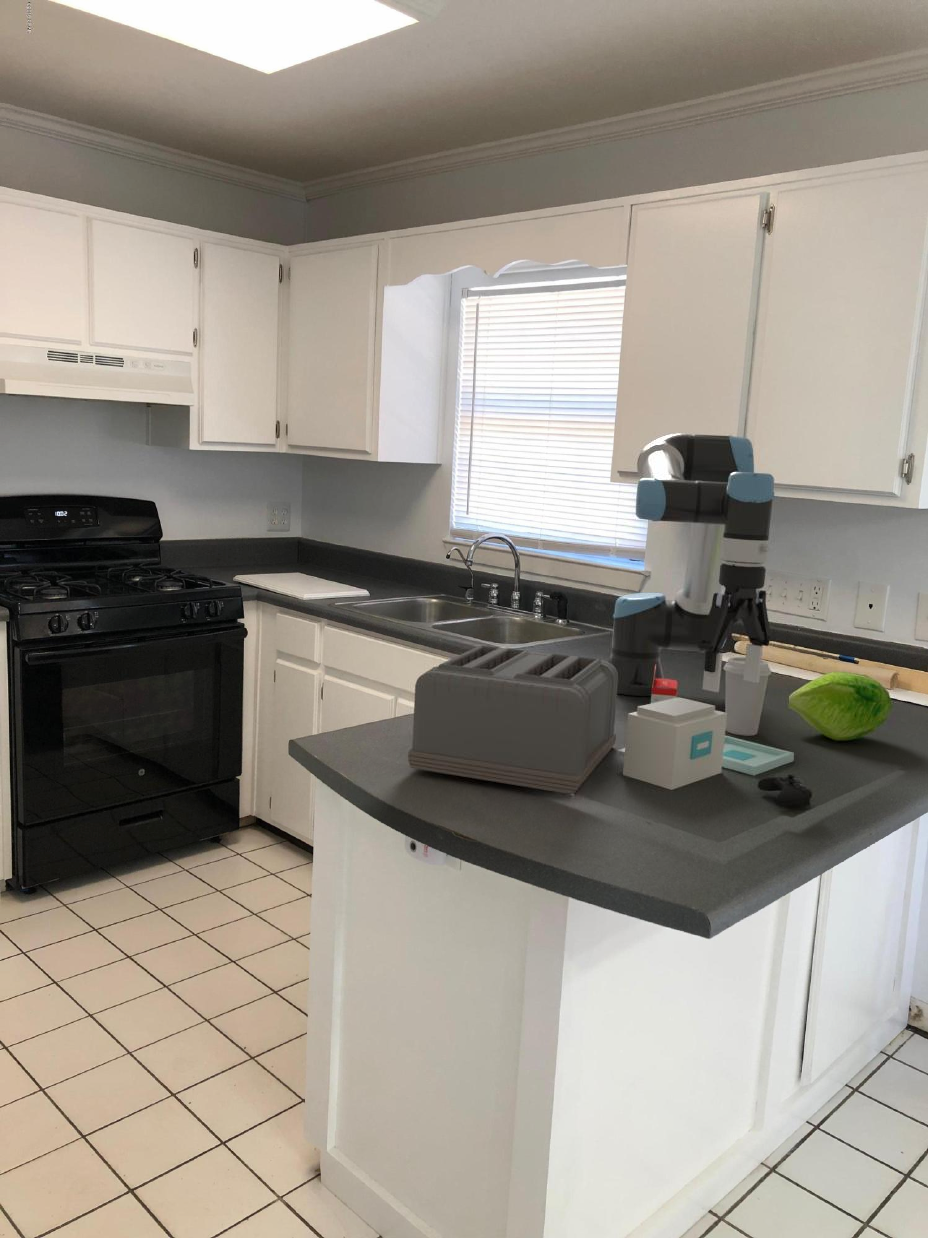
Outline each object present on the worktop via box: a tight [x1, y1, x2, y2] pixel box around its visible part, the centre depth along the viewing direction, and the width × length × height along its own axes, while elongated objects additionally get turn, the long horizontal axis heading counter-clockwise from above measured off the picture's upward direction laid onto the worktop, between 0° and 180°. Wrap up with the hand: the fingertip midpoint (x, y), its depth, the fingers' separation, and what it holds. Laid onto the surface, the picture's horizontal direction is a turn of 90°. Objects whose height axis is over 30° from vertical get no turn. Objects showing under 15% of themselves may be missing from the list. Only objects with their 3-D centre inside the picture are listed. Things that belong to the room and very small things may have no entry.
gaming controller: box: [757, 774, 813, 808], centre depth 167 cm, size 10×5×6 cm
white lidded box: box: [616, 696, 727, 791], centre depth 180 cm, size 14×16×12 cm
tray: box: [722, 734, 795, 776], centre depth 192 cm, size 15×15×2 cm
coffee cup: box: [723, 656, 772, 736], centre depth 211 cm, size 10×10×15 cm
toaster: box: [407, 644, 618, 795], centre depth 186 cm, size 30×36×18 cm
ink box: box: [650, 664, 678, 704], centre depth 201 cm, size 8×5×15 cm, turn 168°
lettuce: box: [788, 671, 893, 742], centre depth 211 cm, size 15×20×14 cm
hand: (731, 685), depth 176 cm, fingers open, 13 cm apart
